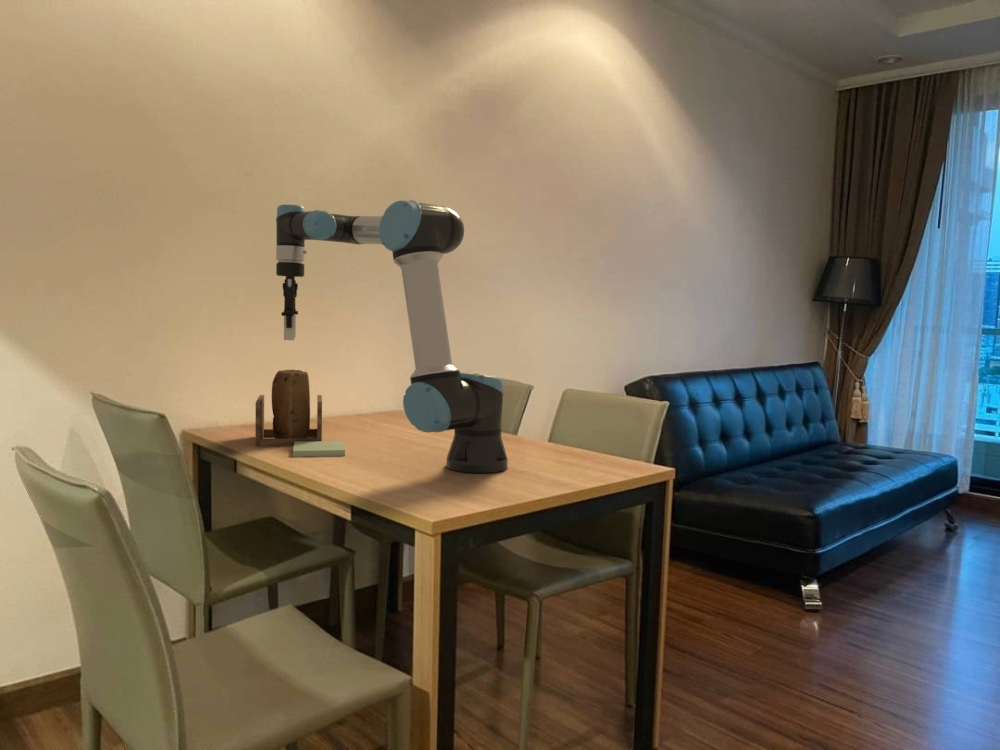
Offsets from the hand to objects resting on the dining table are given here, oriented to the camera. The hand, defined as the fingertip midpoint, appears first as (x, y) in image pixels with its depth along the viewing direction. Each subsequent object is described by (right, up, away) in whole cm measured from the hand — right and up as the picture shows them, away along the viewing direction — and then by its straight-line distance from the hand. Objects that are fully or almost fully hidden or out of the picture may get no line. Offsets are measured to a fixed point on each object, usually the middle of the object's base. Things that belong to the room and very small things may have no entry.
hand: (289, 338), depth 217 cm
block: (-1, -29, +3) cm, 29 cm away
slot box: (-1, -29, +3) cm, 29 cm away
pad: (+11, -30, -11) cm, 34 cm away
